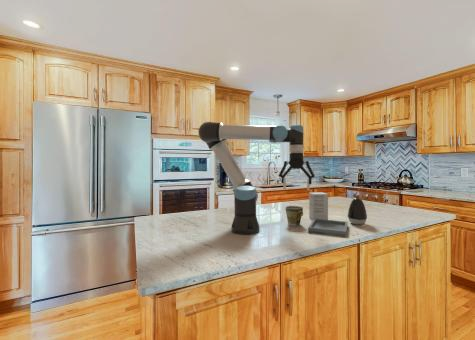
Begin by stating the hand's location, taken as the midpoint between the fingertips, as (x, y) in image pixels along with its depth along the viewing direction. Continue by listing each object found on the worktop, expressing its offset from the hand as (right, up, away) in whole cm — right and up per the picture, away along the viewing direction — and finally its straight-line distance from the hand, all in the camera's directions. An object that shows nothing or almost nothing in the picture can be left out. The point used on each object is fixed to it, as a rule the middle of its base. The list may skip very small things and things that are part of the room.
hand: (296, 189), depth 139 cm
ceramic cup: (0, -21, +1) cm, 21 cm away
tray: (+16, -21, -8) cm, 27 cm away
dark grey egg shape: (+37, -20, +3) cm, 42 cm away
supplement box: (+17, -20, +14) cm, 30 cm away
